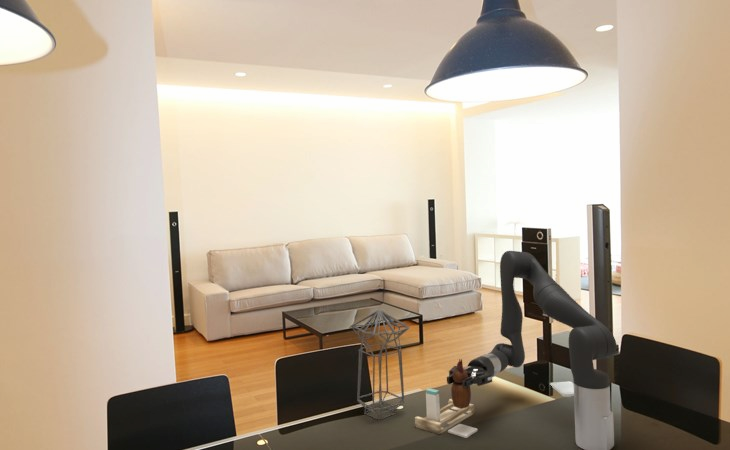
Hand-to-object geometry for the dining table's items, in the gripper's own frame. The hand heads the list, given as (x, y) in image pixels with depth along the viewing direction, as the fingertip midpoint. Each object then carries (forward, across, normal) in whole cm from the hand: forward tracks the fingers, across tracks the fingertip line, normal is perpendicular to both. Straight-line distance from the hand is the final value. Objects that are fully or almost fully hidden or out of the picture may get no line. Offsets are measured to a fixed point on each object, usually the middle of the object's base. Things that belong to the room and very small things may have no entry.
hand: (455, 382), depth 154 cm
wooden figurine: (-3, 0, +8) cm, 9 cm away
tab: (0, -9, +14) cm, 17 cm away
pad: (-2, 0, +16) cm, 16 cm away
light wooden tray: (-6, -9, +16) cm, 19 cm away
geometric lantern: (+2, -28, +16) cm, 33 cm away
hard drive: (-55, +12, +17) cm, 58 cm away
